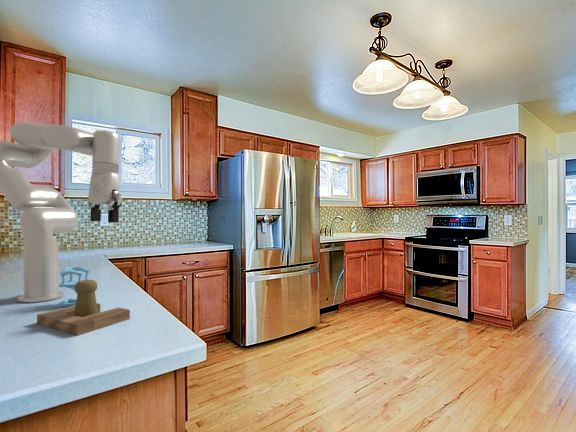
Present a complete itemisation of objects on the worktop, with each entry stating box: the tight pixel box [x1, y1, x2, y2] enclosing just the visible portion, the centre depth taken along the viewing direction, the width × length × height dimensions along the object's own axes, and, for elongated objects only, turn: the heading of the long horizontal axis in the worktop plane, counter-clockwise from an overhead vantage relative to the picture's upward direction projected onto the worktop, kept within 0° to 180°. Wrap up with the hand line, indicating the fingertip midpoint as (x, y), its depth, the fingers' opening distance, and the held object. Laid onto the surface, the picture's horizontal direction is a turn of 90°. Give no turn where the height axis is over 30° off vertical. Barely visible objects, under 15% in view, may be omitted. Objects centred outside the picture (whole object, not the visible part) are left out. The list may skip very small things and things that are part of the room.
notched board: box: [36, 302, 131, 336], centre depth 87 cm, size 18×14×2 cm
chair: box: [54, 266, 91, 309], centre depth 104 cm, size 8×8×12 cm
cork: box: [74, 279, 98, 317], centre depth 88 cm, size 6×6×11 cm
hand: (104, 221), depth 106 cm, fingers open, 9 cm apart
